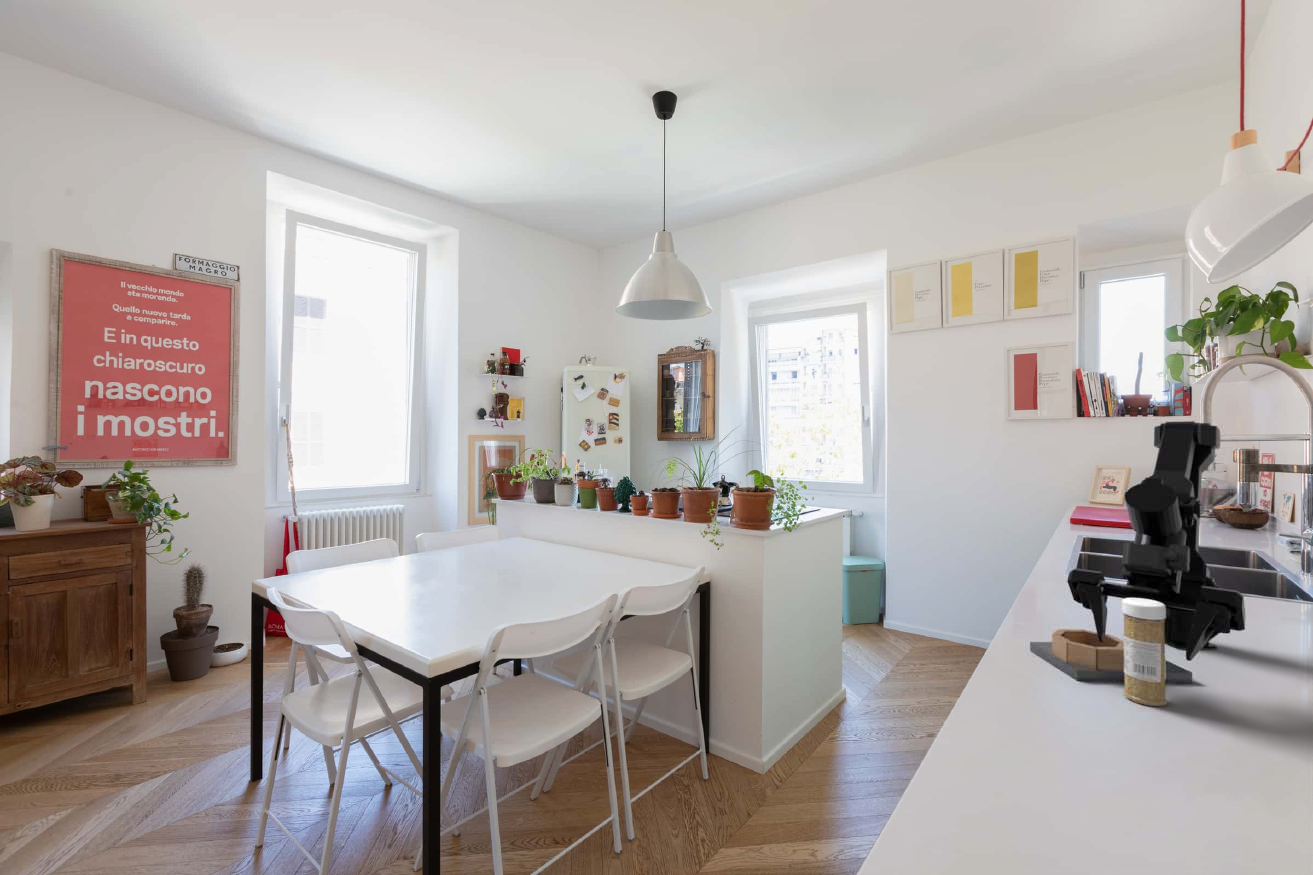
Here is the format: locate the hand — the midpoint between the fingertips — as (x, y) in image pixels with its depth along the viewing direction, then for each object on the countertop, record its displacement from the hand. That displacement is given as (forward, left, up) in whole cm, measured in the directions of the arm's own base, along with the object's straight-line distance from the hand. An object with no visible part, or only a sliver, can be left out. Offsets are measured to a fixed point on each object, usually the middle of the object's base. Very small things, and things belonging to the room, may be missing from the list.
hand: (1142, 649), depth 79 cm
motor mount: (-4, -13, -7) cm, 15 cm away
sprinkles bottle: (-1, -1, -7) cm, 7 cm away
